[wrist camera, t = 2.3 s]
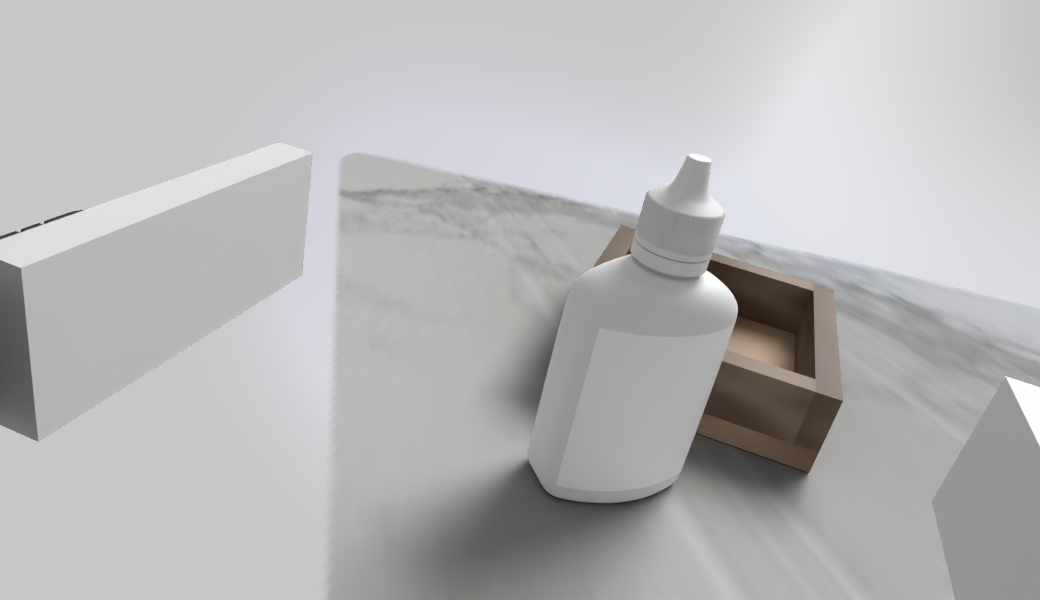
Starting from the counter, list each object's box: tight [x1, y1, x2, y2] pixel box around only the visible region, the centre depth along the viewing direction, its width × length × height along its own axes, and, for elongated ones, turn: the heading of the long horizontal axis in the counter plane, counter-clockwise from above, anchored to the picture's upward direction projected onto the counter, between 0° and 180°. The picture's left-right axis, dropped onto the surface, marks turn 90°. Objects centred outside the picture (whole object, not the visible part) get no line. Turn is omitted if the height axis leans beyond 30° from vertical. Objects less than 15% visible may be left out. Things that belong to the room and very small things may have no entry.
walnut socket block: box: [593, 225, 843, 473], centre depth 36 cm, size 11×11×4 cm
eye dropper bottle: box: [528, 154, 738, 503], centre depth 25 cm, size 4×6×12 cm
